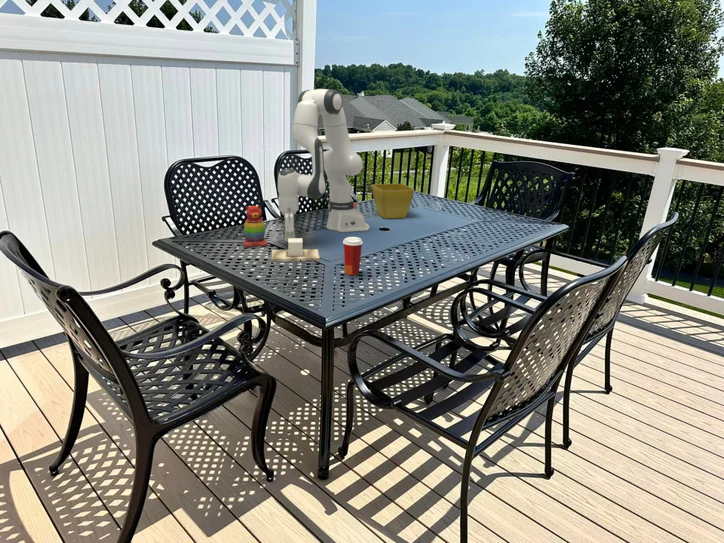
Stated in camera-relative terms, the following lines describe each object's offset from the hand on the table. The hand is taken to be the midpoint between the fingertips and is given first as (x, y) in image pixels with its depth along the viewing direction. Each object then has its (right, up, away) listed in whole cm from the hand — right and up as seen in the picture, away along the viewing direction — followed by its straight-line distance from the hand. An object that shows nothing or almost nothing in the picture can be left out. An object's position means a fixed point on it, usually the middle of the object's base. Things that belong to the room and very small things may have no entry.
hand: (289, 235), depth 233 cm
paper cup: (+29, -17, -28) cm, 44 cm away
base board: (+4, -10, -12) cm, 16 cm away
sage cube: (0, -2, +1) cm, 2 cm away
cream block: (+4, -9, -13) cm, 16 cm away
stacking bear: (-16, -4, +3) cm, 17 cm away
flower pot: (+50, +16, +61) cm, 80 cm away
